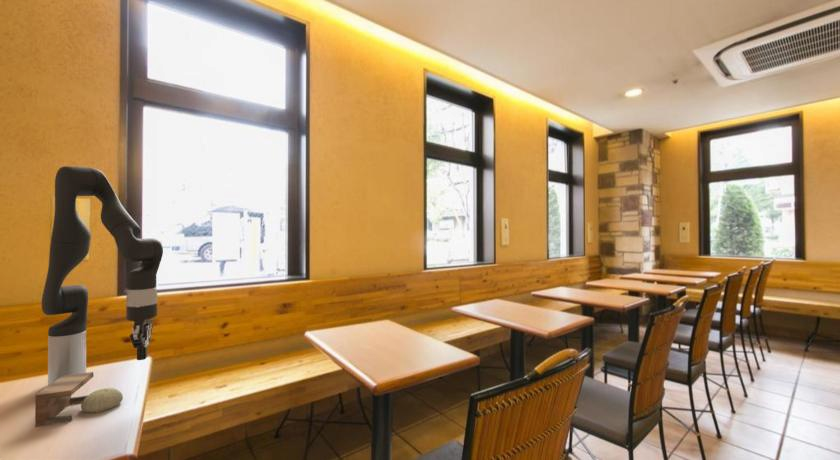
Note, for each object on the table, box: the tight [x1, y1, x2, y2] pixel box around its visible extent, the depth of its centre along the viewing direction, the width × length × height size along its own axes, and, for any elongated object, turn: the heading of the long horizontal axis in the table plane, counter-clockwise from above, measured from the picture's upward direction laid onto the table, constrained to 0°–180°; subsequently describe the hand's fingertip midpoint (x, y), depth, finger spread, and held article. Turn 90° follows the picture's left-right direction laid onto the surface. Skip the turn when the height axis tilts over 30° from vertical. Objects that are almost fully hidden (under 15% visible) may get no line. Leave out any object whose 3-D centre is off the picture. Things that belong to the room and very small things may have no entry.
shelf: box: [34, 371, 94, 428], centre depth 101 cm, size 14×7×8 cm, turn 24°
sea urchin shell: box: [80, 387, 124, 413], centre depth 104 cm, size 9×8×8 cm
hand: (142, 359), depth 108 cm, fingers closed
